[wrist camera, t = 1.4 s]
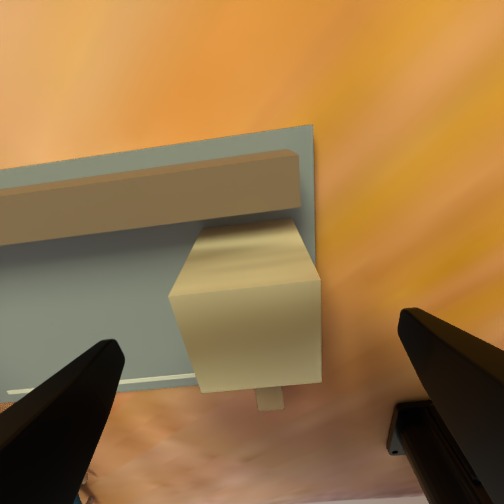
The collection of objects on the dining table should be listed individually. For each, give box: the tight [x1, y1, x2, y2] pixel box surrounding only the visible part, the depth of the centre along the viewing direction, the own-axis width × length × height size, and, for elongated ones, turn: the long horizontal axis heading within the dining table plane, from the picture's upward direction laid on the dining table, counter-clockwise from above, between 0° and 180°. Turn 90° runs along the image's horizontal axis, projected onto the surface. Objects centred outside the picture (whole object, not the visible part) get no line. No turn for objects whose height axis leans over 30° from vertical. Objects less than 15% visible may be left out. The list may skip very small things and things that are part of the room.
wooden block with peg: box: [168, 217, 322, 412], centre depth 11 cm, size 10×4×5 cm, turn 7°
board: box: [0, 125, 315, 403], centre depth 12 cm, size 14×22×3 cm, turn 98°
